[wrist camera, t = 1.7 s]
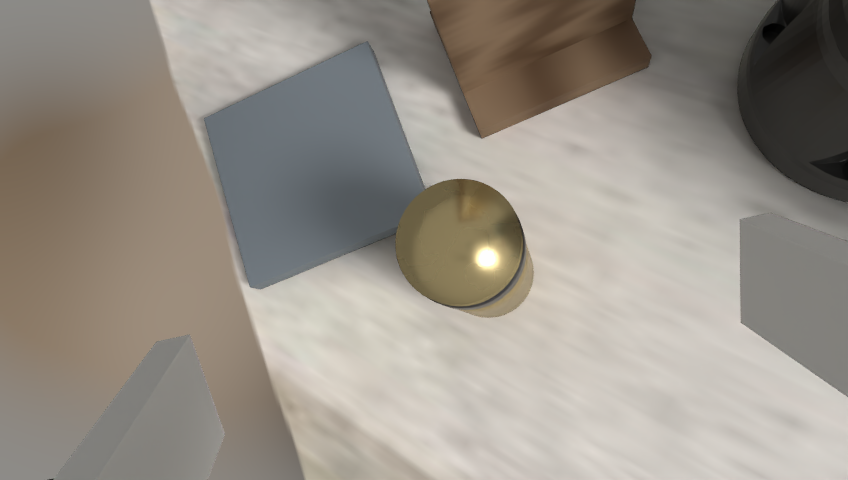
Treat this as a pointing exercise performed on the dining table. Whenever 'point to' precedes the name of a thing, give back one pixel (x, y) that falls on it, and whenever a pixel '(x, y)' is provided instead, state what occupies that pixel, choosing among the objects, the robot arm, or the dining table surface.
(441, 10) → the panel
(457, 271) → the cylinder
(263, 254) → the slate pad
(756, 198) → the dining table surface
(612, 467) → the dining table surface
